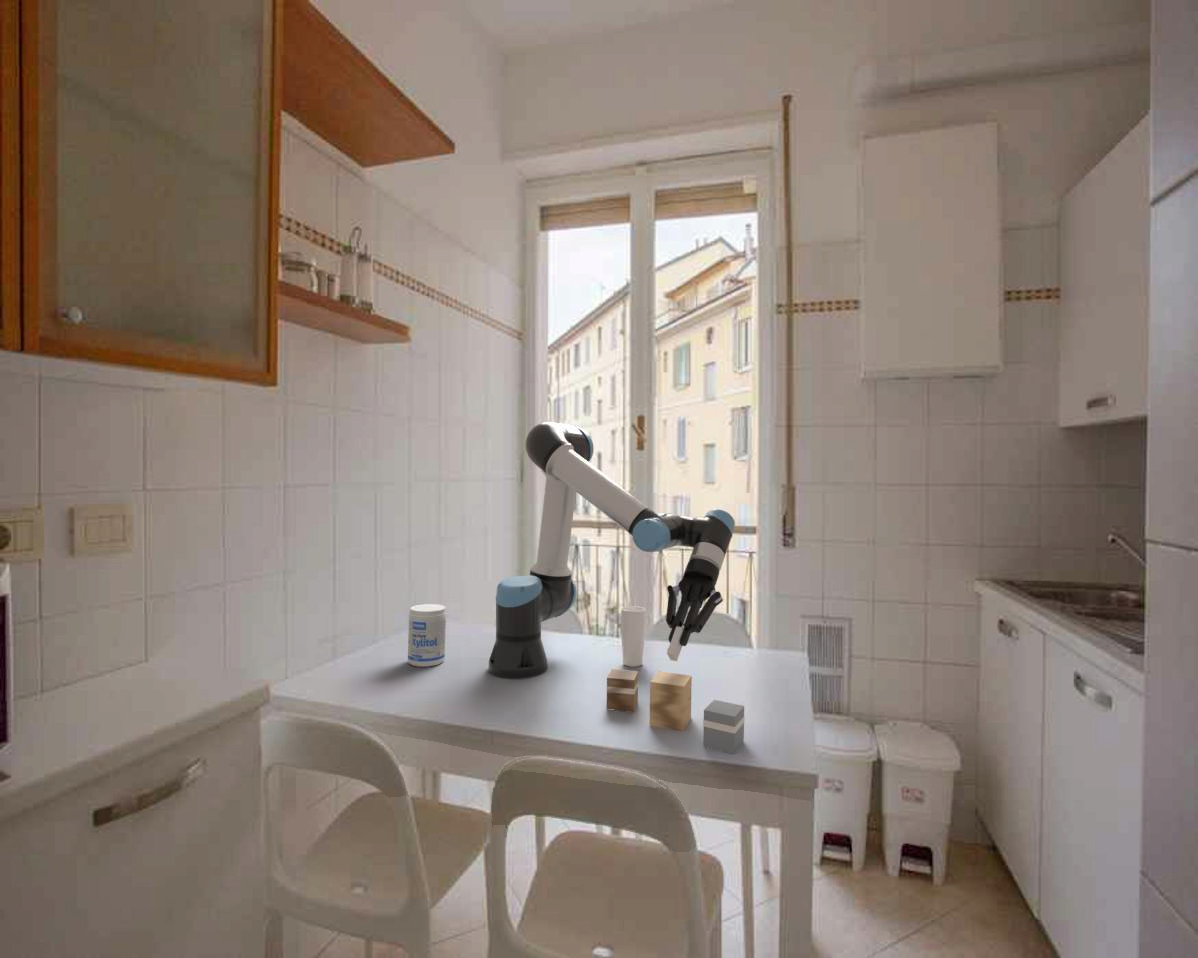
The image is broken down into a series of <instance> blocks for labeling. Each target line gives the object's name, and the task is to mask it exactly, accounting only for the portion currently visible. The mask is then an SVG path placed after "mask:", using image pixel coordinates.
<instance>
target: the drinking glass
mask: <svg viewBox="0 0 1198 958" xmlns="http://www.w3.org/2000/svg"><path fill="white" fill-rule="evenodd" d="M646 627H647V611H646V608H645V607H643V606H638V605H627V606H622V607H621V608H620V631H621V632H620V633H621V648H622V664H623V665H624V666H627V667H633V668H636V667H640V666H641V665H643V657H644V646H645V636H646Z"/></svg>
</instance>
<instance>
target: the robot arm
mask: <svg viewBox="0 0 1198 958" xmlns="http://www.w3.org/2000/svg"><path fill="white" fill-rule="evenodd" d="M594 450H595V449H594V442H593V439H592V437H591V435H590V434H589V433H588V432H587V431H586V430H585V429H584V428H581V427H579V426H578V425H577V426H576V425H573V424H565V423H557V422H551V421H545V422H541V423H537V425H535V426H533V428H531V429H530V431H529V432H528V435H526V439H525V451H526V454H527V456H528V458H529V459H530V460H531V463H533V464H534V465H535V466H537V468H539V469H540V470H541V472H542V473H543V475H544V476H545V486H544V487H545V488H544V496H543V505H542V514H541V523H540V531H539V541H538V546H537V547H538V549H537V558H536V563H535V564H533V565H531V567H530V572H529V575H527V574H526V575H518V576H510V577H507V578H504V579H503V580H501V581H500V582H499V583H498V584H497V588H496V595H495V604H496V605H495V642H494V645H493V648H492V651H491V654H490V657H489V660H488V672H489V673H490V674H491V675H493V676H497V677H500V678H503V679H504V678H505V679H526V678H532V677H536V676H539V675H542V674H544V673H545V672H547V670H548V658H547V655H546V652H545V648H544V644H543V642H542V622H544V621H547V620H551V619H553V618H558V617H560V616H562V615H563V614H565V613H567V612H568V611H569V610H571V608H572V607H573V605H574V603H575V601H576V598H577V586H576V584H575V583H574V580H573V578H572V574H573V572H572V570H571V569H570V568H569V566H568V563H569V554H570V546H571V545H570V544H571V538H572V537H571V535H572V527H573V520H574V511H575V510H574V509H575V501H576V494H579V495H580V496H581V497H582V498H584V499H585V500H586V501H587V502H589V503H590V504H591V505H592V506H594V507H595V508H596V509H598V510H599V511H600V512H602V513H603V514H604V515H605V516H607V518H609V519H610V520H611V521H612V522H614V523H615V524H616V525H618V526H619V527H620V528H622V529H623V530H624V531H625V532H627V533H628V534H629V535H631V537H632V540H633V542H634V544H635V546H636V547H637V548H638V549H639V550H641V551H643V552H646V553H656V552H660V551H663V550H667V549H669V548H673V547H676V546H678V547H679V546H680V547H687V548H693V549H692V552H691V554H690V556H689V559H688V562H687V564H686V567H685V570H684V572H683V576H682V579H681V580H680V581H679V582H678V584H677V585H674V586H673V585H669V584H668V585H667V587H666V589H667V592H668V601H667V608H666V617H665V622H666V624H667V625H668V628H669V629H671V630H670V633H669V635H668V641H669V643H670V644H669V646H668V648H667V651H666V654H667V656H668V658H669V660H670V661H675V662H678V659H679V656H680V653H681V650H682V647H686V646H687V645H688V642H689V639H690V636H691V634H692V633H697V634H699V633H700V632H701V631H702V630H703V628H704V627H705V626H706V624H707V622H708V620H709V619H710V617H711V616H712V614H713V612H714V611H715V609H716V607H717V606H718V605H719V606H720V604H721V603H722V602H723V600H724V599H723V597H722V594H721V592H720V591H716V585H717V582H718V579H719V576H720V571H721V569H722V566H723V563H724V561H725V557H726V553H727V550H728V548H729V546H730V542H731V540H732V538H733V533H734V529H735V525H736V522H735V519H734V518H733V516H732V515H731V514H730V513H729V512H727V511H726V510H724V509H719V508H714V509H711V510H710V509H709V510H708V511H707V513H705V515H704V517H701V516H700V517H698V516H697V517H696V516H687V515H680V514H673V513H669V512H668V513H662V512H661V513H656V512H655V511H653V510H651V509H650V508H649V507H648V506H647V505H646V504H644V503H643V502H641V501H640V500H639V499H637V498H636V497H635V496H634V495H632V494H631V493H630V492H628V491H627V490H625V489H624V488H623V487H621V486H620V485H619V484H618V483H616V482H615V481H613V479H611V478H610V477H608V476H607V475H606V474H604V473H603V472H601V470H599V469H598V468H597V467H595V466H594V465H592V464H591V463H590V461H591V460H592V458H593V456H594ZM680 593H681V597H680V599H681V600H680V602H679V605H678V608H677V604H678V603H677V602H678V596H679V594H680ZM704 602H705V604H704ZM701 608H702V609H701Z"/></svg>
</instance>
